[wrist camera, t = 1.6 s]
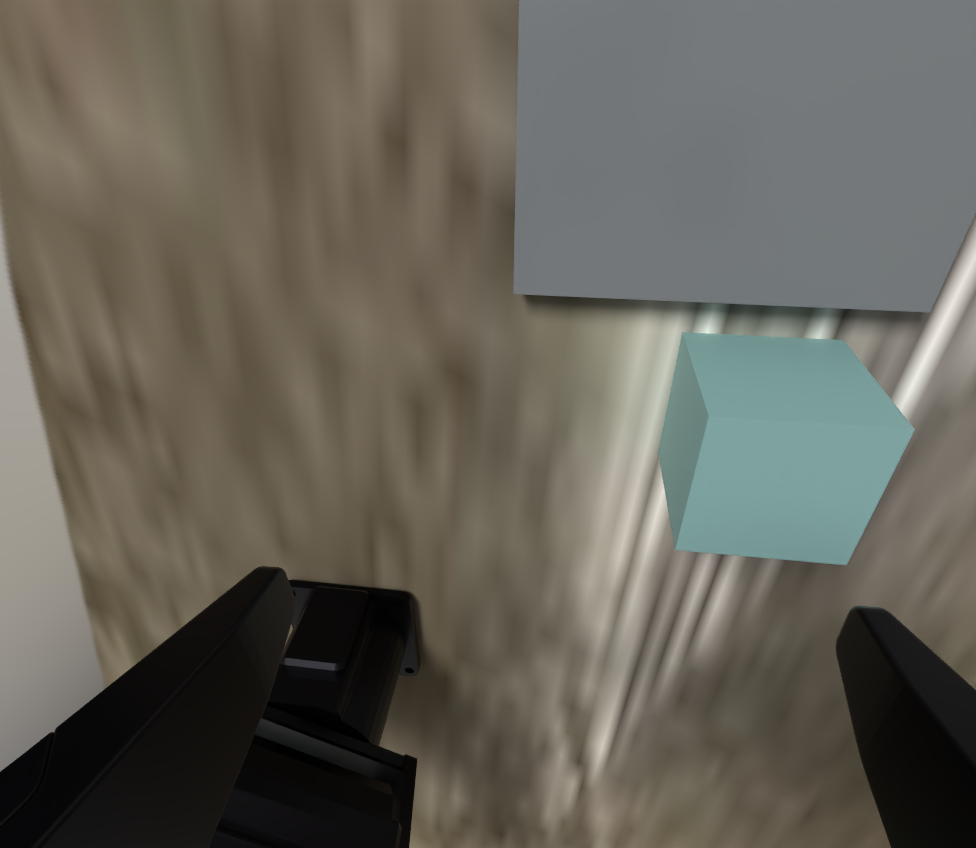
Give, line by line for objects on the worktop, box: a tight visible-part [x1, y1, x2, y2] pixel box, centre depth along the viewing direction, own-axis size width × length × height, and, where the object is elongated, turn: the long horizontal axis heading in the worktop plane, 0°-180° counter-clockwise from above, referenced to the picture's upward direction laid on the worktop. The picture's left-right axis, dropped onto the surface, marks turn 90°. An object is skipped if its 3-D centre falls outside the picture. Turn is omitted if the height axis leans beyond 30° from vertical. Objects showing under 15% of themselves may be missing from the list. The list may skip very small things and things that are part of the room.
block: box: [658, 332, 915, 565], centre depth 18 cm, size 5×5×5 cm
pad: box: [513, 0, 976, 312], centre depth 14 cm, size 12×12×1 cm
